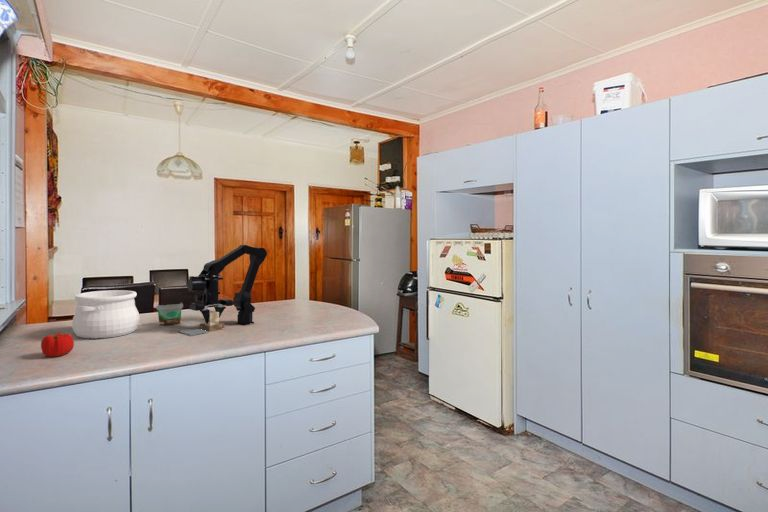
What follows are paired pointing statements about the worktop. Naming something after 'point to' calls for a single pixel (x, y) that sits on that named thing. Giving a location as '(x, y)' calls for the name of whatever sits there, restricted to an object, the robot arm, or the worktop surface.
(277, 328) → the worktop surface
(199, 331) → the slate mat
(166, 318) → the food container
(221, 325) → the walnut pocket
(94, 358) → the worktop surface
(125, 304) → the pot
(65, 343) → the tomato
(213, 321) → the birch block
